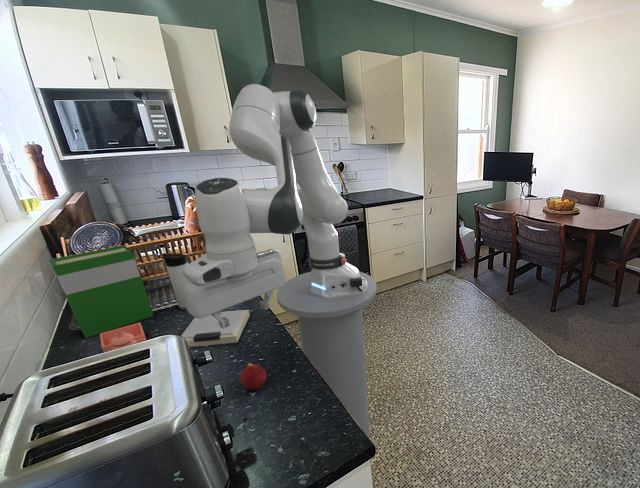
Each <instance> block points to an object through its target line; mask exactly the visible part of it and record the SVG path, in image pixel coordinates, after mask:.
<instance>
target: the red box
mask: <svg viewBox="0 0 640 488" xmlns="http://www.w3.org/2000/svg"><path fill="white" fill-rule="evenodd" d="M99 339H100V345H101V350H102V352H103V353H104V352H107V351H110V350H114V349H118V348H121V347H125V346H128V345H132V344H135V343H138V342H141V341H145V340H147V337H146V333H145V332H144V329H143V326H142V323H141V321H138V322H135V323H131V324H128V325H124V326H121V327H118V328H115V329H112V330H109V331H106V332H103V333H100V334H99Z"/></svg>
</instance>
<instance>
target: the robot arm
mask: <svg viewBox="0 0 640 488" xmlns="http://www.w3.org/2000/svg"><path fill="white" fill-rule="evenodd" d="M316 122H317V109H316V105H315V103H314V101H313V99H312V97H311V96H310V94H308V93H307V92H306V91H305V90H301V89H291V90H287V91H274V92H273V91H272V90H271V89H270V88H268V87H266V86H265V85H262V84H258V83H249V84H247V85H245V86H244V87H243V88H242V89H241V90H240V92H239V93H238V95H237V96H236V98H235V101H234V104H233V106H232V110H231V114H230V120H229V124H228V125H229V126H228V131H229V136H230V140H231V142H232V144H234V146H235V147H236V148H237V149H238V150H239V151H240V152H241V153H242V154H244V155H246V156H247V157H249V158H251V159H253V160H255V161H256V160H257V161H260V162H264V163H267V164H270V165H271V166H273V167H275V173H276V180H277V185H276V186H275V187H272V188H267V189H266V188H265V189H264V188H263V189H258V188H256V189H253V188H252V189H251V188H248V189H247V188H242V187H241V185H240V183H239V182H238V180H236V179H233V178H229V177H214V178H209V179H205V180H202V181H201V182H198V184H197V185H195V187H194V202H195V211H196V215H197V221H198V226H199V229H200V231H201V233H202V235H203V236H204V239H205V247H204V248H205V249H204V250H205V252H206V253H204V254H202V255H201V256H200V257H198V258H197V259H195V260H192V261H191V262H190V263H188V265H186V266H185V267H184V268H183V269H182V272H183V275H184V276H185V277H186V278H187V280H186V281H185V283H184V287H183V291H184V299H185V304H186V308H187V309H186V311H187V312H188V314H189V315H191V316H192V317H194V318H195V317H196V318H199V319H200V318H203V317H206V316H208V315H212V316H213V317H214V318H216V319H217V320H218V323H219V326H220V327H221V328H222V329H223V328H225V327H228V326H230V323H229V319H228V318H226V317H222V318H221V317H219V315H221V312H222V311H223V310H226V309H229V308H231V307H234V306H237V305H240V304H241V303H244V302H246V301H249V300H252V299H255V298H257V297H259V296H262V295H263V300H262V301H259V305H260V310H262V311H268V310H269V309H271V301H272V298H273V296H274V291H275V290H277V289H279V288H280V287H283V286H284V285H285V283H286V282H287V278H286V274H285V270H284V267H283V265H282V264H283V263H282V255H281V253H280V252H279V251H278V250H276V249H273V248H270V249H267V250H265V251H259V252H257V251H256V245H255V240H254V238H253V237H252V235H251V234H275V235H276V234H277V235H291V234H293V233H294V232H295V231H297V230H298V229H299V228H300V227H301V226H302V225H303V229H304V231H305V234H306V239H307V245H308V252H309V255H308V266H309V270H310V272H311V284H310V289H309V290H310V292H311V293H312V294H314V295H317V296H321V297H322V298H324V299H331V298H337V297H343V296H349V295H355V294H361V293H364V292H365V291H366V290H367V281H366V279H365V278H363V277H361V275H360V272H361V271H360V270H359V269H358V268H357V267H356V266H354V265H352V264H350V263H348V262H347V261H348V260H347V258H346V255H345V252H342V253H341V252H340V241H339V234H338V231H337V230H336V228H335V227H334V225H338V224H340V223H342V222H344V220H345V219H346V218H347V215H348V212H349V207H348V203H347V201H346V200H345V199H344V198H343V197H342V196H341V193H339V192H338V190H337V188H336V187H335V185H334V183H333V181H332V179H331V178H330V175H329V174H328V172H327V170H326V168H325V163H324V161H323V158H322V156H321V153H320V149H319V146H318V144H317V139H316V138H315V135H314V133H313V130H312V128H314V127H315V125H316ZM298 186H299V187H298Z"/></svg>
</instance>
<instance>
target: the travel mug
mask: <svg viewBox="0 0 640 488" xmlns="http://www.w3.org/2000/svg"><path fill="white" fill-rule="evenodd" d="M162 259H163V260H164V264H165V267H166V270H167V274H168V277H169V280H170V283H171V286H172V289H173V293H174V296H175V299H176V303H177V306H178V308H179V310H183V311H184V310H186V311H187V308H186V304H185V299H184V291H183V287H184V283H185V281H186V280H187V278H186V277H185V276H184V275H183V272H182V269H183V268H184V267H185V266H186V265H188V264H189V260H188V259H187V255H186V254H181V253H169V254H166V255H164V256H162Z"/></svg>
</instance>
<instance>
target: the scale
mask: <svg viewBox="0 0 640 488" xmlns="http://www.w3.org/2000/svg"><path fill="white" fill-rule="evenodd" d="M250 316H251V313H250V310H249V309H240V310H239V309H238V310H226V311H221V315H219V317H221V318H222V317H226V318H228V319H229V323H230V326H228V327H225V328H223V329H222V328H221V327H220V326H219V323H218V320H217V319H216V318H214V317H213V316H212V315H208V316H206V317H203V318H200V319H199V318H196V317H194V318H193V319H192V321H191V322H190V323H189V325H187V327H186V328H185V330H184V331H183V332H182V334H181V335H180V337H181V336H182V337H183V338H184V339H185V340H186V342H187V344H188V346H189V347H188V348H194V347H204V346H214V345H225V344H235V343H238V341H239V340H240V338H241V336H242V333H243V331H244V330H245V327H246V325H247V323H248V320H249V319H250Z"/></svg>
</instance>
